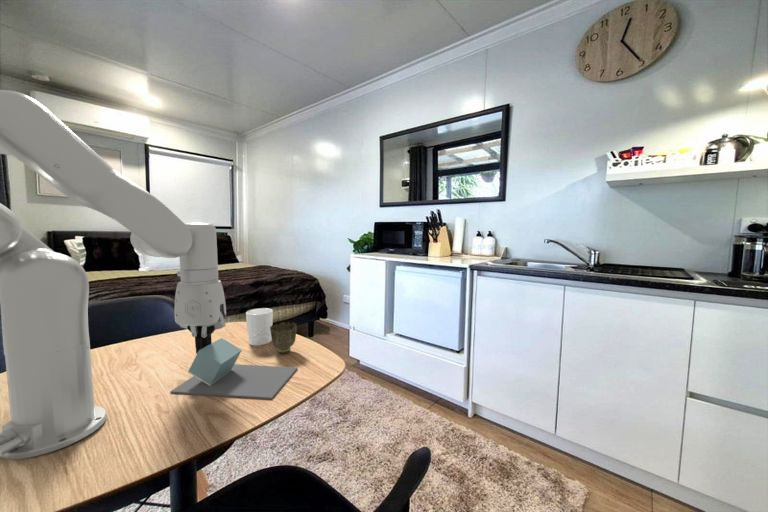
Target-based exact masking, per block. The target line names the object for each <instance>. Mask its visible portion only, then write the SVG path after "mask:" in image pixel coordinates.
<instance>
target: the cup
mask: <svg viewBox="0 0 768 512" xmlns="http://www.w3.org/2000/svg"><path fill="white" fill-rule="evenodd" d="M297 328H298V325H297V323H295V322H294V321H293V322H291V323H290V321H288V322H287V323H286V322H280V323H279V324H278V323H275V325H272V326H271V327H270V331H271V338H272V341H271V343H272V344H273V346H274V347H275V348H277V349H276V351H277V353H278V354H281V355H285V354H287V353H289V352H291V350H292V349H291V347H292V346H293V345H294V344H295V342H296V339H297Z"/></svg>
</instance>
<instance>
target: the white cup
mask: <svg viewBox="0 0 768 512" xmlns="http://www.w3.org/2000/svg"><path fill="white" fill-rule="evenodd" d="M273 311H274V310H273V309H272V308H268V307H262V308H261V307H260V308H253V309H249V310H247V311H246V312H245V320H246V328H247V336H248V343H249V345H251V346H255V347H257V346H264V345H267V344H269V343H272V338H271V331H270V327H271V326H272V325H273V322H274V321H273V320H274V316H273V315H274V313H273Z"/></svg>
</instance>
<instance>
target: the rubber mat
mask: <svg viewBox="0 0 768 512" xmlns="http://www.w3.org/2000/svg"><path fill="white" fill-rule="evenodd" d="M297 371H298V367H294V366H277V365H274V366H273V365H258V364H257V365H256V364H255V365H254V364H240V363H239V364H238V363H237V364H236V363H235V364H234V366H233V368H232V370H230V371H229V372H228V373H226V374H225V375H224V376H223V377H221V378H220V379H219V380H217V381H216V382H215V383H213V384H212V385H211V386H209V385H208V384H206V383H204V382H203V381H201V380H199V379H198V378H196V377H195V376H193V375H192V377H190V378H188V379H187V380H185V381H184V382H183V383H181V384H179V385H177V386H176V387H174V388H173V389H171V390H170V394H178V395H179V394H181V395H193V396H194V395H196V396H197V395H198V396H211V397H227V398H228V397H230V398H242V399H243V398H244V399H247V398H248V399H257V400H258V399H259V400H261V399H262V400H273V399H274V398H275V396H276V395H277V394H278V393H279V391H281V389H282V388H283V387H284V386H285V384H286V383H287V382H288V380H289V379H291V377H293V375H294V374H295V372H297Z"/></svg>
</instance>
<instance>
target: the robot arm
mask: <svg viewBox="0 0 768 512" xmlns="http://www.w3.org/2000/svg"><path fill="white" fill-rule="evenodd" d="M0 155H7V156H13V157H14V158H15V159H17V160H18V161H19V162H21V163H23V164H24V165H25V166H26V167H28V168H29V169H30V170H32V171H33V172H34V173H36V174H37V175H38V176H40V177H41V178H43V180H45V181H46V182H48V183H49V185H51V186H52V187H53V188H55V189H56V190H57V191H59V192H60V193H61V194H63V195H64V196H66V197H67V198H68V199H70V200H72V201H74V202H75V203H77V204H79V205H81V206H83V207H86V208H88V209H92V210H93V211H94V210H95V211H97V212H98V213H101V214H103V215H105V216H107V217H108V218H110V219H112V220H114V221H115V222H117V223H118V224H119V225H121V226H122V227H124V228H125V229H126V230H128V231H129V232H131V234H130V237H129V238H130V244H131V245H132V247H133V248H134V249H135V251H137V252H139V253H141V254H143V255H144V256H149V257H155V258H156V257H157V258H164V259H176V258H178V259H179V270H178V271H177V272H176V275H177V277H180V281H179V282H177V284H176V287H175V288H176V289H175V294H174V321H175V323H176V325H179V327H180V328H183V329H186V330H188V331H189V332H190V333H191V336H192V338H194V343H195V354H196V355H197V353H198V351H199V350H201V349H202V348H204V347H206V346H208V345H210V344H211V343H213V342H212V334H214V332H215V331H216V330H220V329H223V328H225V327H226V322H225V319H226V317H227V306H226V305H227V304H226V297H225V292H224V287H223V284H222V281H221V280H219V266H218V265H219V263H218V245H217V244H218V243H217V242H218V241H217V228H216V226H215V225H214V224H212V223H209V222H207V223H206V222H184V221H182V220H181V218H180V217H178V216H177V215H176V214H175V213H174V212H173V211H172V210H171V209H170V208H168V207H167V205H165V204H164V203H163V202H162V201H160V200H159V198H157V197H155V196H154V195H153V194H152V193H150V192H149V191H147V190H145V189H144V188H143V187H141V186H139V185H138V184H136V183H135V181H132V180H131V179H130V178H128V177H126V176H125V175H123V174H121V173H120V172H119V171H118V170H116V169H115V168H114V167H112V165H110V164H109V163H108V162H107V161H106V160H105V159H103V158H102V157H101V156H100V155H99V154H98V153H97V152H95V150H94V149H92V148H91V147H90V146H89V144H87V143H86V142H85V141H84V140H82V139H81V138H80V137H79V136H78V135H77V134H76V133H75V132H73V131H72V130H71V129H70V128H69V126H67V125H66V124H65V123H64V122H62V121H61V119H59V118H58V117H57V115H55V114H54V113H52V111H50V110H49V109H48V108H47V107H46V106H44V105H43V104H42V103H40V102H39V101H37V100H36V99H34V98H33V97H31V96H29V95H27V94H25V93H22V92H19V91H14V90H10V89H9V90H7V89H6V90H5V89H0ZM89 295H90V283H89V277H88V273H87V272H86V270H85V269H84V267H83V266H82V264H80V262H78V261H77V260H75V258H72V257H71V256H69V255H66V254H63V253H61V252H56V251H54V250H53V249H52V248H50V247H49V246H48V245H47V244H46V243H44V242H43V241H41V240H40V239H39V238H38V237H37V236H35V235H34V234H33V233H32V232H31V231H29V230H28V229H27V228H25V227H24V226H23V225H22V223H21V221H20V219H19V217H18V216H17V215H16V214H15V213H14V211H12V210H11V209H9V208H8V207H7V206H5V205H4V204H2V203H1V202H0V317H1V332H2V346H3V347H2V348H3V355H4V358H5V359H4V360H5V367H6V368H5V370H6V379H7V381H6V382H7V389H8V390H7V391H8V392H7V393H8V401H9V402H8V403H9V412H10V421H8V422H7V423H4V424H2V425H1V432H0V458H2V459H6V460H23V459H29V458H34V457H37V456H42V455H45V454H46V455H47V454H49V453H53V452H56V451H58V450H61V449H63V448H66V447H68V446H71V445H72V444H75V443H77V442H79V441H81V440H84V439H85V438H86V437H88V436H89V435H92V434H93V433H94V432H95V431H97V430H98V429H100V428H101V426H102V425H103V424H104V423H105V422H106V421H107V418H108V416H107V410H106V408H104V407H102V406H98V405H95V397H94V385H93V384H94V383H93V371H92V370H93V369H92V368H93V367H92V356H91V344H90V343H91V342H90V341H91V340H90V333H89V330H90V329H89V315H88V314H89V313H88V312H89V310H88V309H89Z"/></svg>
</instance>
